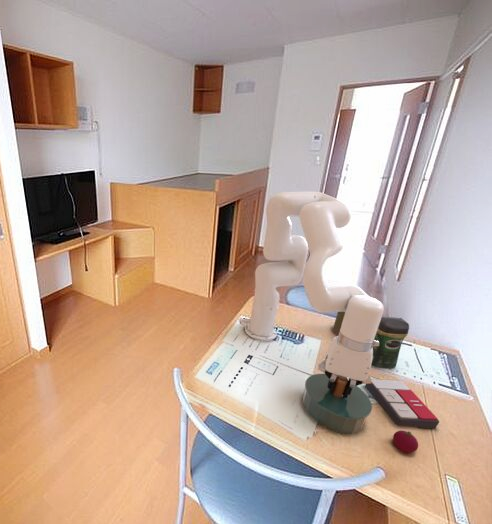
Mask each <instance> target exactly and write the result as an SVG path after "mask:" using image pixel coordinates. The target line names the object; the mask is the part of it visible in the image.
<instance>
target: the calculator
mask: <svg viewBox="0 0 492 524" xmlns="http://www.w3.org/2000/svg"><path fill="white" fill-rule="evenodd" d="M371 381H372V383H370V384H364V388H365V389H366V390H367V391H368V393H369V394H370V395H371V396H372V397H373V399H374V400H375V401H376V403H378V405H379V406H380V407H381V408H382V410H383V411H384V413H386V415H387V416H388V417H389V418H390V420H392V423H394V424H395V425H396V426H401V427H414V428H415V427H416V428H418V429H433V430H434V429H436V428H437V427H438V425H439V424H440V420H439V419H438V417H437V416H436V415H435V414H434V413H433V412H432V410H430V408H428V407H427V405H426V404H425V403H424V402H423V401H422V400H421V398H419V396H418V395H417V394H416V393H414V391H413V390H412V389H411V388H410V387H409V386H408V385H407V384H406V383H405V382H404V381H403V380H396V379H395V380H394V379H374V378H371Z"/></svg>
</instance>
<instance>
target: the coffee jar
mask: <svg viewBox="0 0 492 524" xmlns="http://www.w3.org/2000/svg"><path fill="white" fill-rule="evenodd" d="M409 330H410V324H409V323H408V322H407V321H406V320H405V319H404V318H402V317H394V316H382V318H381V321H380V323H379V326H378V329H377V332H376V335H375V338H374V340H376V341H378V342H379V346H373V347H372V348H373V357H372V364H371V367H374V368H380V369H394V368H396V366H397V363H398V360H399V355H400V351H401V348H402V344H403V341H404V340H405V338H407V336H408V334H409Z"/></svg>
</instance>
